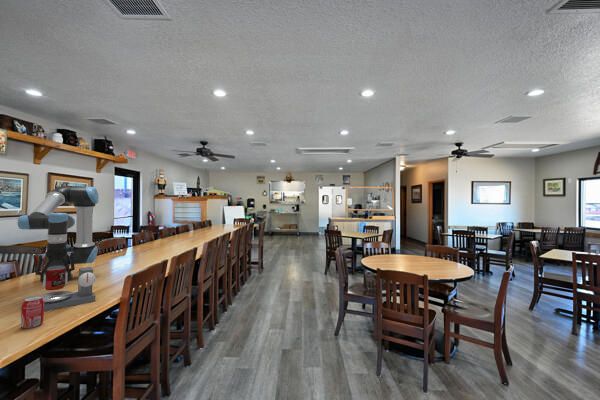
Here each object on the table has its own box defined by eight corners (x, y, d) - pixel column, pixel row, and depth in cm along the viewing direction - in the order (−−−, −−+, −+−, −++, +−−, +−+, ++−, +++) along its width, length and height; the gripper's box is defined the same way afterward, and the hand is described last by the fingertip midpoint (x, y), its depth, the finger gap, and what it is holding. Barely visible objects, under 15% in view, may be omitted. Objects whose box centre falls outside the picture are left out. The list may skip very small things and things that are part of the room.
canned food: (52, 291, 133) (53, 269, 134) (40, 289, 135) (41, 268, 135) (68, 286, 141) (69, 266, 141) (57, 285, 143) (58, 264, 143)
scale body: (31, 305, 137) (33, 272, 137) (90, 294, 155) (92, 265, 155) (33, 313, 127) (34, 278, 127) (95, 301, 145) (97, 270, 145)
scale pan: (34, 298, 137) (34, 295, 137) (70, 292, 148) (70, 289, 148) (36, 306, 128) (36, 302, 128) (74, 299, 138) (74, 295, 138)
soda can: (31, 322, 119) (32, 295, 119) (47, 321, 120) (49, 295, 120) (15, 329, 112) (16, 301, 112) (33, 329, 113) (34, 301, 113)
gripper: (29, 245, 128) (27, 292, 128) (83, 241, 143) (81, 283, 143) (28, 243, 133) (26, 288, 133) (81, 239, 148) (79, 280, 148)
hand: (55, 285), depth 138 cm, fingers closed on canned food, 8 cm apart
